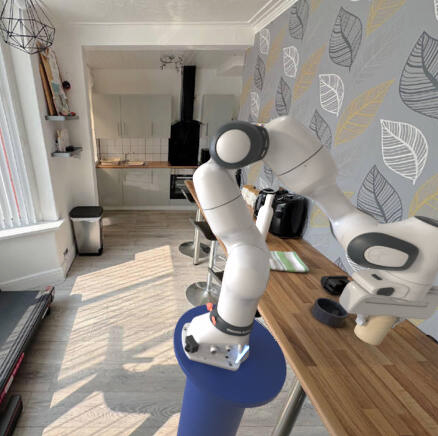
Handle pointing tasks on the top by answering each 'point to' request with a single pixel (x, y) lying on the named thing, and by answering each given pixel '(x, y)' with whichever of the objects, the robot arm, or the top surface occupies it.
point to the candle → (375, 329)
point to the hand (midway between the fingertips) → (373, 325)
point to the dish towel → (286, 262)
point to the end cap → (334, 284)
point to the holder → (329, 312)
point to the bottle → (265, 216)
